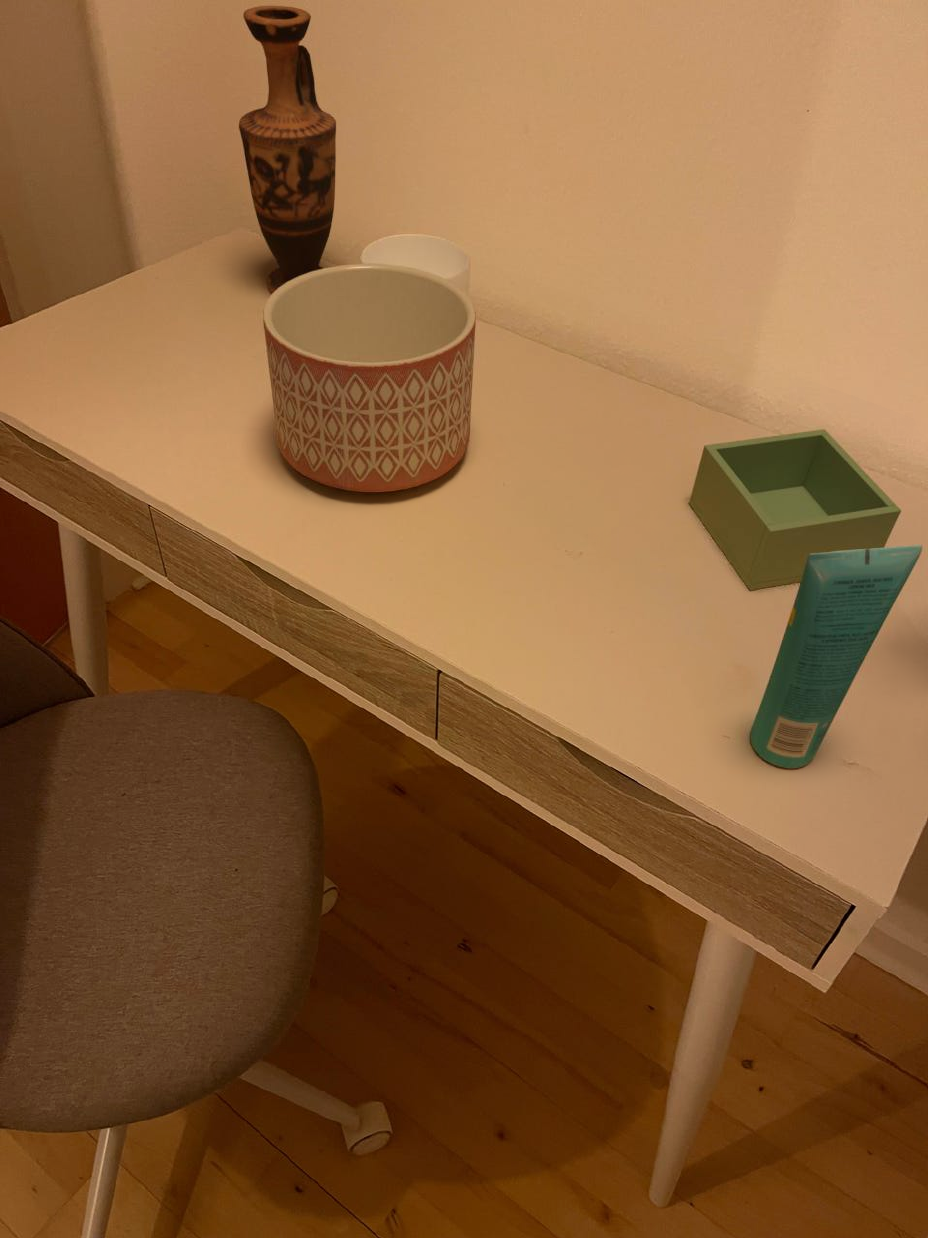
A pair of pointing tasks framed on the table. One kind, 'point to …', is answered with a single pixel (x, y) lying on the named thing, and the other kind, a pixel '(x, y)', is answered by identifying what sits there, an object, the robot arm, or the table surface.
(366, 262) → the cup
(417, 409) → the planter
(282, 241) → the vase
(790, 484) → the basket
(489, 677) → the table surface
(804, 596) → the tube
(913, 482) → the table surface
